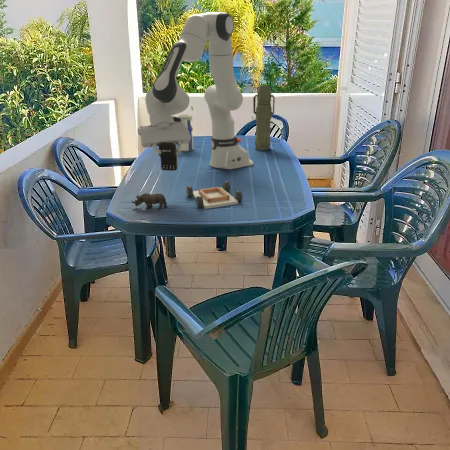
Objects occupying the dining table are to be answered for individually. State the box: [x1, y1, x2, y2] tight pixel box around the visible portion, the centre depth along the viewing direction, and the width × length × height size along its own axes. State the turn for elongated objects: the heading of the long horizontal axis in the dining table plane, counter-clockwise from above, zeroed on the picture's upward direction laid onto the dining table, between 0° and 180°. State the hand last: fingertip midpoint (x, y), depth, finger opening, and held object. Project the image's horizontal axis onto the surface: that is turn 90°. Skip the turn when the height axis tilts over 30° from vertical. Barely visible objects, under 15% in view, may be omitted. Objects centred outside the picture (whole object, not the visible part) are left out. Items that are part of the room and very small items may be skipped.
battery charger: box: [158, 142, 179, 172], centre depth 177 cm, size 7×4×11 cm, turn 80°
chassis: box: [185, 180, 243, 210], centre depth 179 cm, size 18×18×4 cm
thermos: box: [252, 85, 276, 151], centre depth 248 cm, size 9×12×35 cm
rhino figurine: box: [131, 192, 168, 210], centre depth 170 cm, size 4×14×6 cm, turn 86°
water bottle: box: [177, 106, 194, 152], centre depth 250 cm, size 8×8×25 cm
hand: (169, 153), depth 176 cm, fingers closed on battery charger, 7 cm apart
